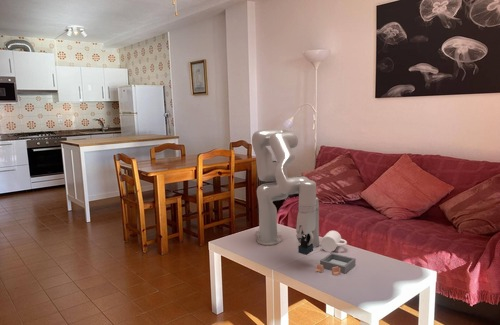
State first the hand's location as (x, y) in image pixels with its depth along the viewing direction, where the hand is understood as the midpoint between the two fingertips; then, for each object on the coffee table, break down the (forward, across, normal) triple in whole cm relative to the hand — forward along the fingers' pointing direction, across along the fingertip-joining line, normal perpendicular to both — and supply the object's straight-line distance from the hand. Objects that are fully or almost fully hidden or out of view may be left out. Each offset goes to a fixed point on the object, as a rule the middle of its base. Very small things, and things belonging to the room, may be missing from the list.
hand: (306, 246), depth 172 cm
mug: (+10, -25, +2) cm, 27 cm away
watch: (+3, 0, -1) cm, 3 cm away
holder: (+9, -7, +12) cm, 17 cm away
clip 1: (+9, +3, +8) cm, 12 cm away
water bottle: (+10, -23, -11) cm, 28 cm away
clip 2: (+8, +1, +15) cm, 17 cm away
